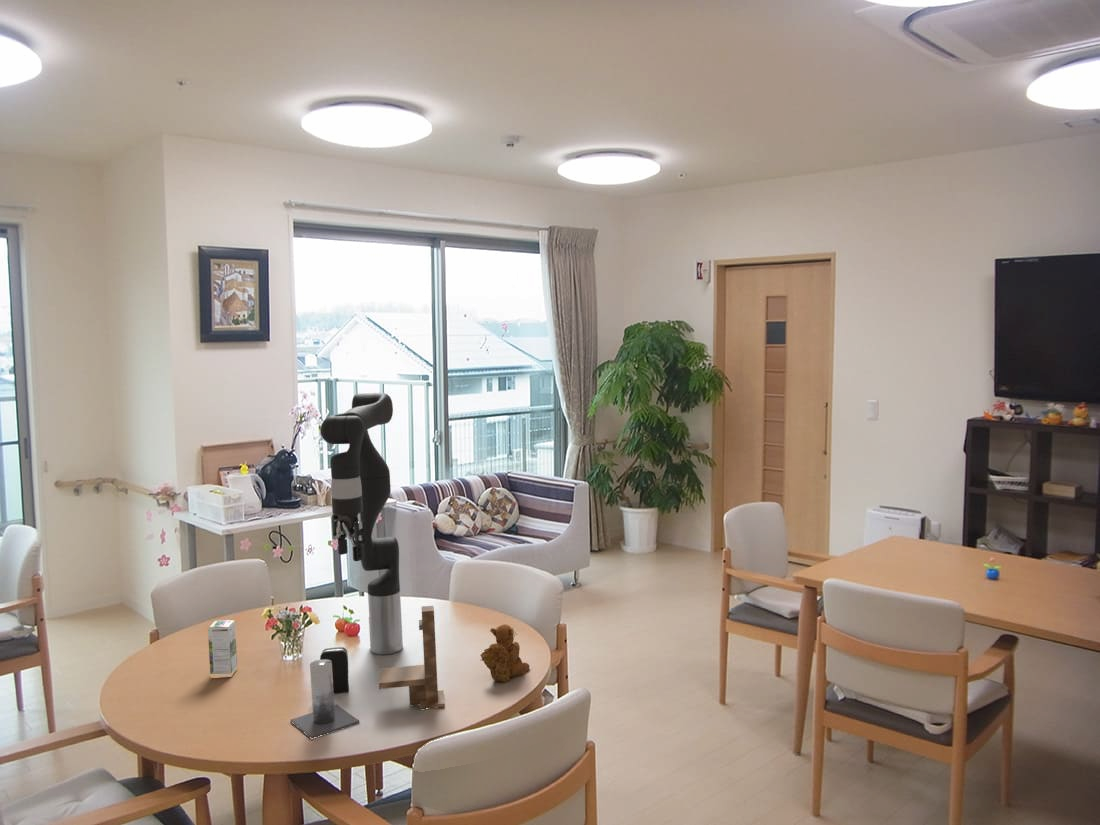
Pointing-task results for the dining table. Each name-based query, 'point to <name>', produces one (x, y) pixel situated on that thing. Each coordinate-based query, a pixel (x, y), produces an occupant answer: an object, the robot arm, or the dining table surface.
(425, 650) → the walnut standard
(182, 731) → the dining table surface
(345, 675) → the battery charger
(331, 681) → the steel cylinder
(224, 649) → the syrup box
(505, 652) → the stuffed squirrel
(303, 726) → the felt pad
